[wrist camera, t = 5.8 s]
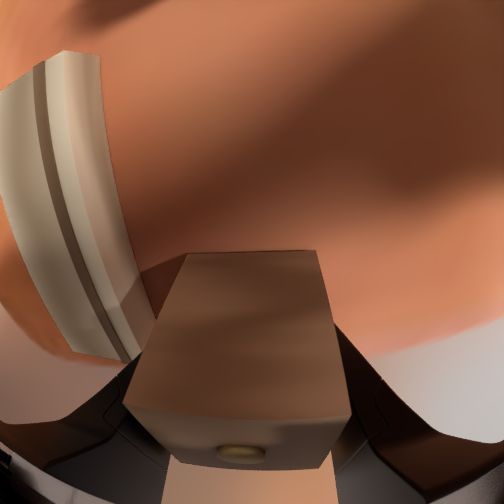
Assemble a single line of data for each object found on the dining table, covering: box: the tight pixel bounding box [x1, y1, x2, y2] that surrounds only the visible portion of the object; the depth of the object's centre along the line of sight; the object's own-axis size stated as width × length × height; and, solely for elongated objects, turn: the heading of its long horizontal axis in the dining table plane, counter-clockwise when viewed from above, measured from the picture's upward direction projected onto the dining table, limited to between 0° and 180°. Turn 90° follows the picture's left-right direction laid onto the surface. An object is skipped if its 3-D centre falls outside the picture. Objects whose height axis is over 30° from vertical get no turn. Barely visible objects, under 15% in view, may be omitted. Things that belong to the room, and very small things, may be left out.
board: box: [0, 50, 156, 364], centre depth 8 cm, size 4×12×2 cm, turn 4°
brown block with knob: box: [123, 250, 351, 470], centre depth 8 cm, size 4×4×6 cm
